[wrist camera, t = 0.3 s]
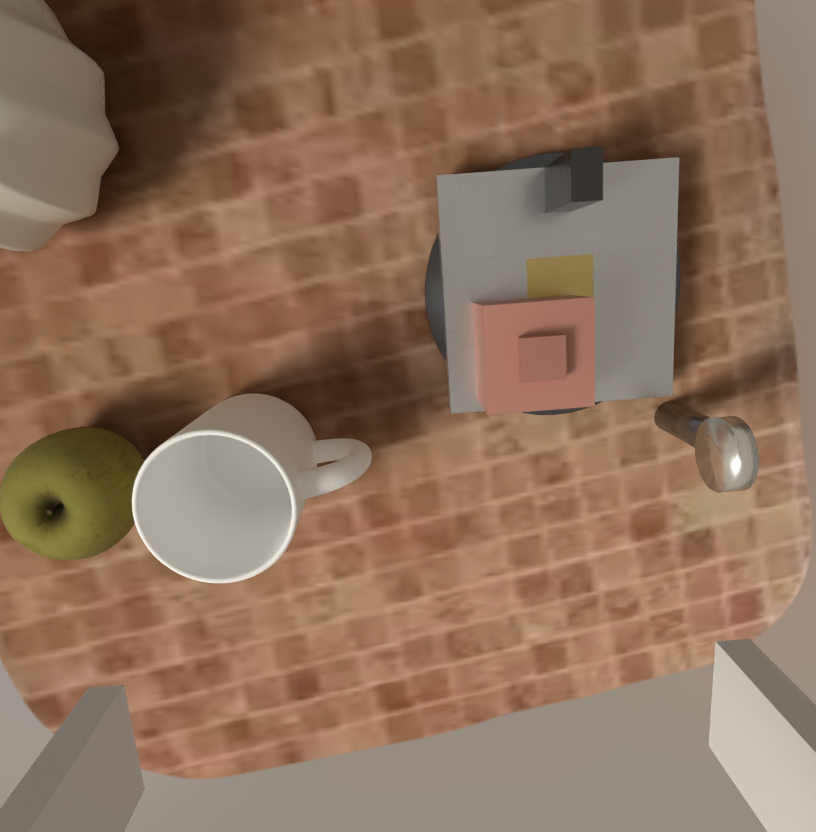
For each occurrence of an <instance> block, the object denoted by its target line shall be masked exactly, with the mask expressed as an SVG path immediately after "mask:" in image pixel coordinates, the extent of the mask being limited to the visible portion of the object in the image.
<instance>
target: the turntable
mask: <svg viewBox="0 0 816 832" xmlns="http://www.w3.org/2000/svg"><path fill="white" fill-rule="evenodd" d="M435 186H436V202H437V219H438V235H439V252H440V268H441V285H442V301H443V318H444V334H445V350H446V367H447V383H448V400H449V410H450V412H451V413H464V412H476V411H485V410H484V409H483V407H482V406H481V405H480V403H479V402H478V400H477V380H476V360H475V340H474V319H473V303H476V302H489V301H502V300H515V299H528V298H540V297H553V296H566V295H577V296H588V297H595V402H600V401H612V400H624V399H637V398H649V397H662V396H673V363H674V328H675V293H676V258H677V223H678V188H679V157H676V158H662V159H649V160H636V161H623V162H609V163H603V146H601V147H588V148H574V149H570V150H568V151H567V152H565V153H564V154H563V155H561V156H560V157H558V158H557V159H556V160H554V161H553V162H551V163H550V164H549V165H547V166H546V167H543V168H529V169H516V170H503V171H489V172H476V173H463V174H450V175H437V176H436V178H435Z"/></svg>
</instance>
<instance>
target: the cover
mask: <svg viewBox="0 0 816 832" xmlns="http://www.w3.org/2000/svg"><path fill="white" fill-rule="evenodd" d="M473 319H474V340H475V360H476V380H477V400H478V402H479V403H480V405H481V406H482V407H483V409H484V410H485V411H486V413H487V414H488V415H493V414H506V413H518V412H530V411H543V410H555V409H567V408H580V407H592V406H595V297H588V296H577V295H566V296H553V297H540V298H528V299H515V300H502V301H489V302H476V303H473Z"/></svg>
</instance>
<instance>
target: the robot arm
mask: <svg viewBox="0 0 816 832" xmlns="http://www.w3.org/2000/svg"><path fill="white" fill-rule="evenodd" d="M709 747H710V748H711V750H712V751H713V753H714V754H715V755H716V757H717V758H718V760H719V761H720V763H721V764H722V766H723V767H724V769H725V770H726V772H727V773H728V774H729V776H730V777H731V779H732V780H733V782H734V783H735V785H736V786H737V788H738V789H739V791H740V792H741V794H742V795H743V796H744V798H745V799H746V801H747V802H748V804H749V805H750V807H751V808H752V810H753V811H754V812H755V814H756V815H757V817H758V818H759V820H760V821H761V823H762V824H763V826H764V827H765V829H766V830H767V832H816V705H815V704H814V703H813V702H812V701H811V700H810V699H809V698H808V697H807V696H806V695H805V694H804V693H803V692H802V691H801V690H800V689H799V688H798V687H797V686H796V685H795V684H794V683H793V682H792V681H791V680H790V679H789V678H788V677H787V676H786V675H785V674H784V673H783V672H782V671H781V670H780V669H779V668H778V667H777V666H776V665H775V664H774V663H773V662H772V661H771V660H770V659H769V658H768V657H767V656H766V655H765V654H764V653H763V652H762V651H761V650H760V649H759V648H758V647H757V646H756V645H755V644H754V643H753V642H752V641H751V640H750V639H743V640H729V641H716V645H715V660H714V675H713V690H712V704H711V719H710V734H709ZM143 791H144V784H143V779H142V774H141V769H140V764H139V759H138V754H137V749H136V744H135V739H134V734H133V729H132V724H131V719H130V713H129V708H128V703H127V698H126V693H125V688H124V685H119V686H105V687H92V688H88V689H87V691H86V692H85V693H84V695H83V696H82V698H81V699H80V700H79V702H78V703H77V704H76V706H75V707H74V709H73V710H72V711H71V713H70V714H69V715H68V717H67V718H66V719H65V721H64V722H63V724H62V725H61V726H60V728H59V729H58V730H57V732H56V733H55V735H54V736H53V737H52V739H51V740H50V741H49V743H48V744H47V745H46V747H45V748H44V750H43V751H42V752H41V754H40V755H39V756H38V758H37V759H36V761H35V762H34V763H33V765H32V766H31V767H30V769H29V770H28V772H27V773H26V774H25V776H24V777H23V778H22V780H21V781H20V783H19V784H18V785H17V787H16V788H15V789H14V791H13V792H12V793H11V795H10V796H9V798H8V799H7V800H6V802H5V803H4V804H3V806H2V807H1V808H0V832H124V831H125V828H126V827H127V824H128V822H129V820H130V818H131V816H132V814H133V812H134V810H135V808H136V806H137V803H138V801H139V799H140V797H141V795H142V793H143Z"/></svg>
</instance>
